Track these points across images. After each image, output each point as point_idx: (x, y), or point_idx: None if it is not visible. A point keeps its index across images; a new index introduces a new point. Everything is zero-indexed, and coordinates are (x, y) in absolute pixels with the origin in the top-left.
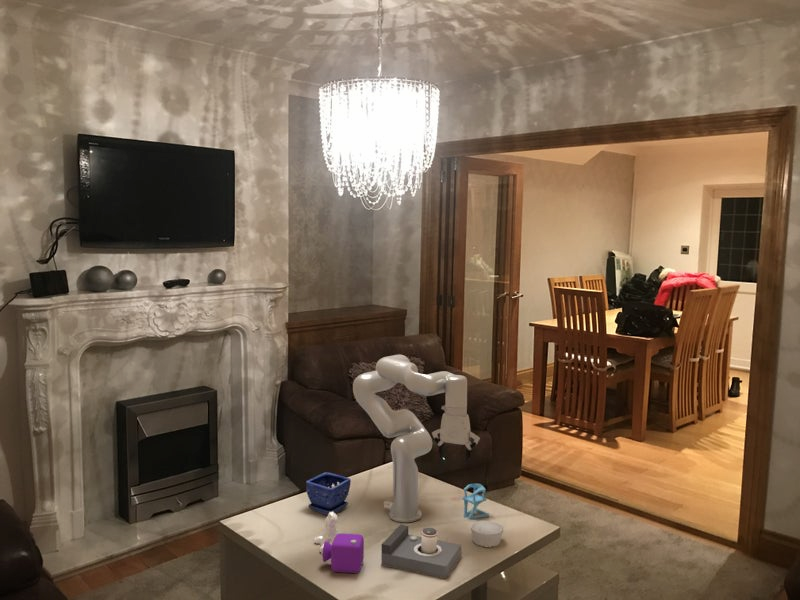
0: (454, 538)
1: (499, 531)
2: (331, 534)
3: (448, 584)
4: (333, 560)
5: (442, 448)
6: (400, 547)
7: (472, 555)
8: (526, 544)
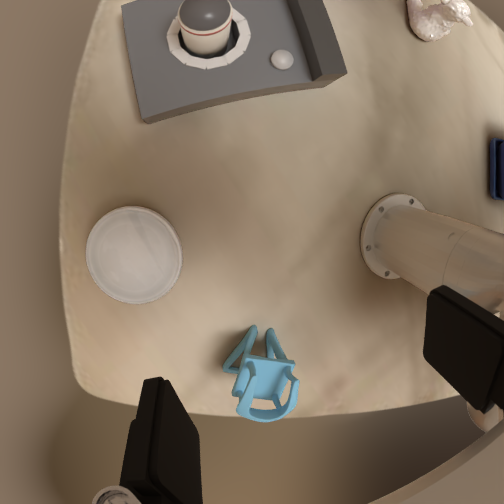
0: (221, 202)
1: (88, 256)
2: (428, 6)
3: (113, 9)
4: None
5: (484, 345)
6: (280, 10)
7: (126, 148)
8: (65, 293)
